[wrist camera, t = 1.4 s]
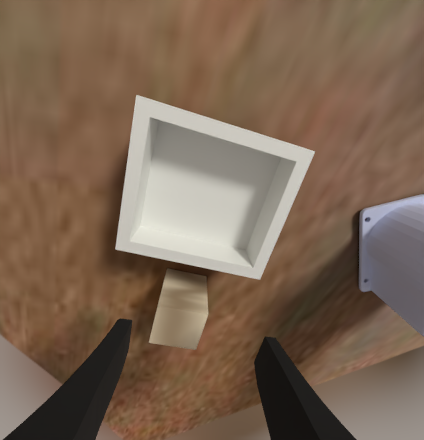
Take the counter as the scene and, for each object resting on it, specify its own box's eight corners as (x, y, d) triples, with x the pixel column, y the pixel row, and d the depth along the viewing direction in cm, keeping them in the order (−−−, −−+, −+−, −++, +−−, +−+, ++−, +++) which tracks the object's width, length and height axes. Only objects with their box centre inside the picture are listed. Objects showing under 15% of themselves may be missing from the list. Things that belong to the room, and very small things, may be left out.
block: (206, 276, 21) (208, 314, 17) (196, 306, 23) (195, 349, 18) (167, 268, 21) (157, 305, 16) (159, 299, 22) (148, 342, 17)
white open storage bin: (281, 147, 17) (315, 151, 12) (245, 244, 20) (259, 279, 15) (156, 108, 15) (136, 94, 10) (137, 219, 18) (115, 249, 14)
